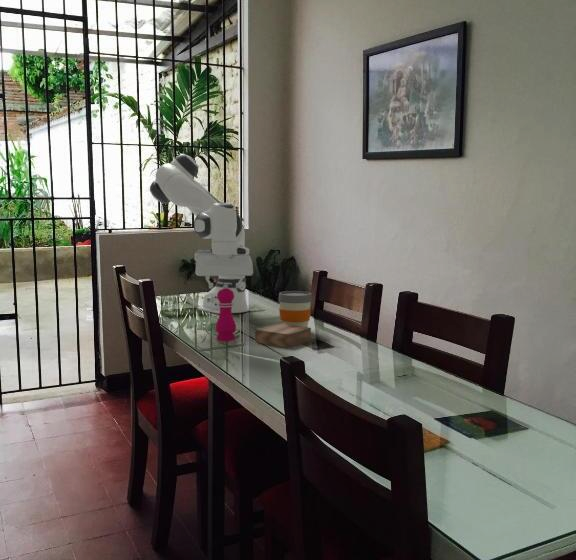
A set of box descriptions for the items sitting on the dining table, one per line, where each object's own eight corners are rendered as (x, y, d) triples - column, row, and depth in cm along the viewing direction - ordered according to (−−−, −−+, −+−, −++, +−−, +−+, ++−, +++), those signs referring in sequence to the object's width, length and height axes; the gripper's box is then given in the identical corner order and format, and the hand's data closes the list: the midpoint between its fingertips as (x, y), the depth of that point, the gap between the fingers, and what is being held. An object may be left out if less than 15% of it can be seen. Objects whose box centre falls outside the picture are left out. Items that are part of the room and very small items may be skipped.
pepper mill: (212, 341, 229) (211, 285, 226) (221, 337, 235) (220, 282, 233) (230, 342, 226) (230, 286, 224) (239, 338, 233) (239, 283, 231)
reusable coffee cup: (306, 328, 252) (306, 290, 250) (315, 335, 240) (316, 295, 238) (275, 330, 249) (275, 291, 247) (282, 336, 237) (282, 296, 235)
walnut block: (255, 343, 228) (255, 329, 227) (279, 336, 239) (279, 323, 238) (287, 348, 219) (287, 334, 219) (310, 341, 231) (310, 327, 230)
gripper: (193, 250, 223) (194, 289, 224) (253, 249, 225) (253, 289, 226) (194, 248, 229) (195, 287, 231) (252, 248, 231) (252, 287, 233)
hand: (224, 288), depth 229 cm, fingers open, 8 cm apart
